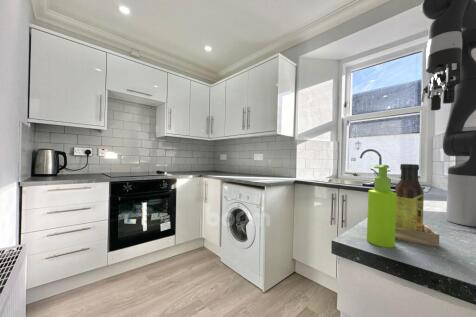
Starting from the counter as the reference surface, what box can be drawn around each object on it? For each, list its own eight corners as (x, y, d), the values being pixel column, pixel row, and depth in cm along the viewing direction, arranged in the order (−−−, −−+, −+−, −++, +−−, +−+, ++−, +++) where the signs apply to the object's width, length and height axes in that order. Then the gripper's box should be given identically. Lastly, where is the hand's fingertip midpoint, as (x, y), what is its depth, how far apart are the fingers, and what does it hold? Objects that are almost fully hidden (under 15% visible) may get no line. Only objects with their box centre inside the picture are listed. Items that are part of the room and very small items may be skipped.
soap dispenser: (361, 242, 51) (364, 164, 51) (370, 236, 56) (373, 164, 56) (389, 250, 47) (393, 165, 47) (397, 243, 51) (400, 165, 51)
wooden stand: (382, 228, 63) (382, 218, 63) (424, 234, 59) (425, 224, 59) (388, 238, 55) (389, 227, 55) (438, 246, 50) (439, 234, 50)
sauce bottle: (423, 241, 52) (426, 164, 52) (393, 234, 56) (396, 163, 56) (420, 234, 57) (423, 164, 57) (393, 228, 61) (395, 163, 61)
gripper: (475, 37, 53) (473, 99, 53) (449, 61, 65) (447, 111, 65) (437, 43, 56) (434, 101, 56) (419, 65, 69) (417, 112, 69)
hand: (441, 106), depth 61 cm, fingers open, 8 cm apart
